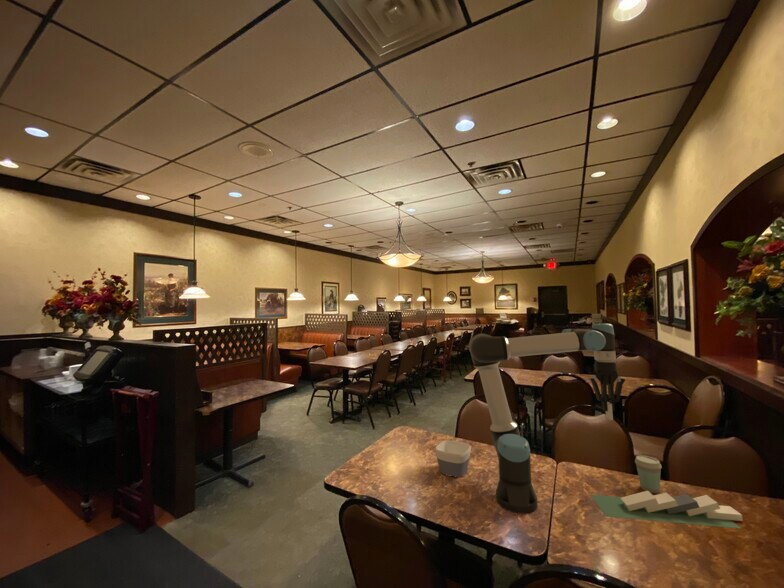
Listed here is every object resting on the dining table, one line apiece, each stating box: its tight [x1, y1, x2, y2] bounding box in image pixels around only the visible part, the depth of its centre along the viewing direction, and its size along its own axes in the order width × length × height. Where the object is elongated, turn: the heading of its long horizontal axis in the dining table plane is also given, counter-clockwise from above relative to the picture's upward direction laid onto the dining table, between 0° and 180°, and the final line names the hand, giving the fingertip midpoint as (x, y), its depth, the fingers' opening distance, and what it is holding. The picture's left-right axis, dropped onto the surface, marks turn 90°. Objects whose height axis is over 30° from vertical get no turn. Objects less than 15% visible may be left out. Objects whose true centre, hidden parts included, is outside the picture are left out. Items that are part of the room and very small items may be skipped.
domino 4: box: [702, 504, 743, 522], centre depth 112 cm, size 2×5×10 cm
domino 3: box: [684, 494, 720, 516], centre depth 113 cm, size 2×5×10 cm
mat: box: [589, 494, 742, 529], centre depth 115 cm, size 40×14×1 cm, turn 78°
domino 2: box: [644, 492, 678, 513], centre depth 115 cm, size 2×5×10 cm
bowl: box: [434, 439, 472, 478], centre depth 149 cm, size 15×15×11 cm
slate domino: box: [664, 493, 699, 515], centre depth 114 cm, size 2×5×10 cm
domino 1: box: [620, 490, 658, 511], centre depth 117 cm, size 2×5×10 cm
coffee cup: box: [634, 455, 663, 494], centre depth 129 cm, size 8×8×12 cm
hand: (609, 419), depth 131 cm, fingers closed
